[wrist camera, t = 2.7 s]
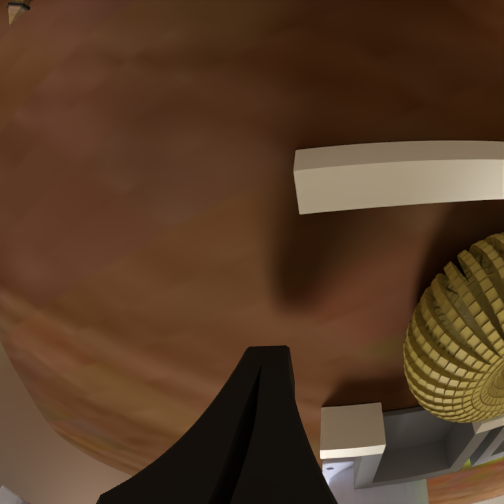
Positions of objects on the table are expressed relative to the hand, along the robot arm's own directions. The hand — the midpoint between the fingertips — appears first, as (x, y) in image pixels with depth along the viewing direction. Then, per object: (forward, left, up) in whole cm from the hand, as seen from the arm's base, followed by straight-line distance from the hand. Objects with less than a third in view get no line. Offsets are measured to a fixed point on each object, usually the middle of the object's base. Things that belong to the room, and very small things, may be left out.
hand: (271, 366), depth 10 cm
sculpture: (0, -8, -2) cm, 9 cm away
